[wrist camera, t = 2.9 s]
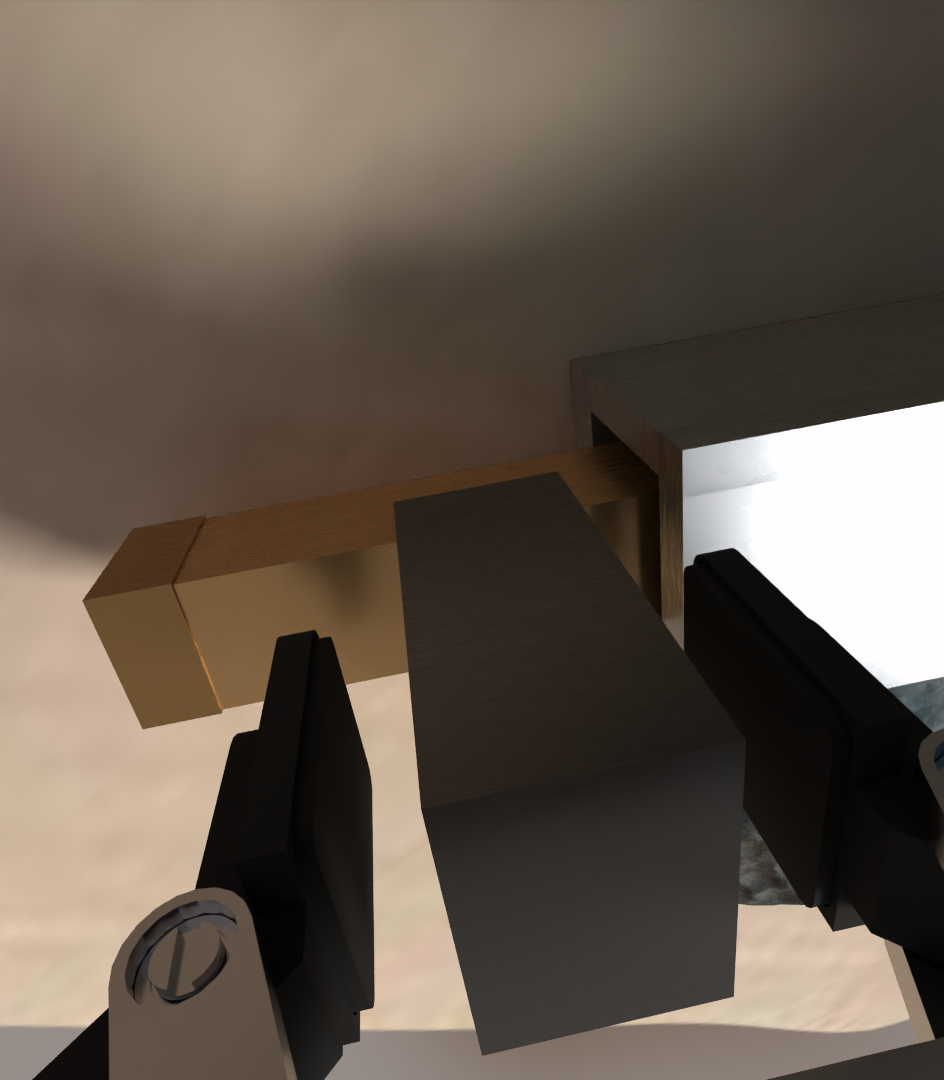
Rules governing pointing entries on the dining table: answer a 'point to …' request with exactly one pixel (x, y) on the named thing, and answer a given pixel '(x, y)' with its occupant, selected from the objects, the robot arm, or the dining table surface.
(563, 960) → the tan bar piece
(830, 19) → the dining table surface
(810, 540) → the sleeve
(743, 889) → the fossil
